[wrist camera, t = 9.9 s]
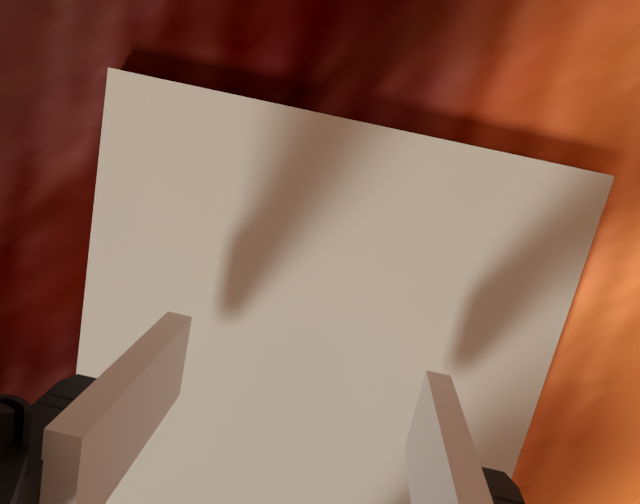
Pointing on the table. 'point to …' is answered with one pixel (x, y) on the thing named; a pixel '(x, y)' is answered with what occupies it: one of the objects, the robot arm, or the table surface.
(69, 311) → the table surface
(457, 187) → the mat
